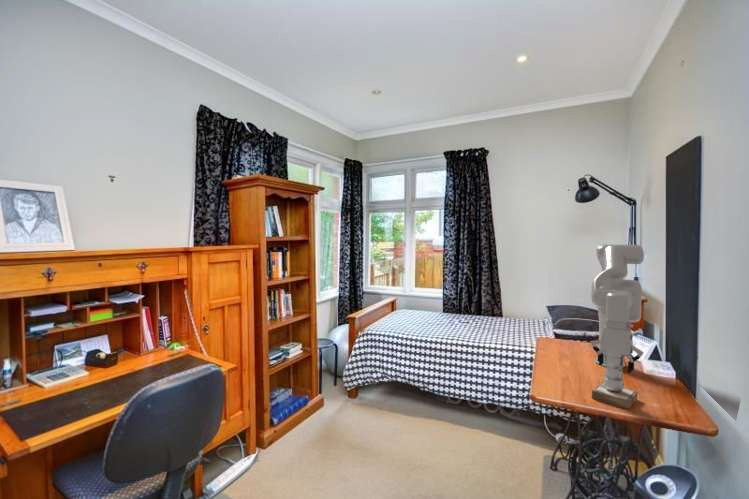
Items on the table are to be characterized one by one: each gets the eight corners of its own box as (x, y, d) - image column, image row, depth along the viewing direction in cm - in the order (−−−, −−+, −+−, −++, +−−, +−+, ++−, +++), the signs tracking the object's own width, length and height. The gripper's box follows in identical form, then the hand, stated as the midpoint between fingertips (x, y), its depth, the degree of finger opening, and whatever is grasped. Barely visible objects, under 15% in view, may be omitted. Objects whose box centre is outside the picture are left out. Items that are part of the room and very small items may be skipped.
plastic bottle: (624, 395, 134) (626, 343, 133) (603, 391, 138) (605, 340, 137) (623, 389, 140) (625, 339, 139) (602, 385, 143) (604, 336, 142)
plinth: (601, 389, 147) (602, 381, 147) (636, 399, 138) (637, 391, 138) (591, 398, 139) (592, 390, 139) (628, 409, 130) (628, 400, 130)
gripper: (646, 327, 133) (644, 371, 134) (594, 318, 146) (593, 359, 147) (641, 331, 128) (639, 377, 129) (588, 322, 141) (587, 363, 142)
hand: (615, 367), depth 138 cm, fingers open, 9 cm apart
